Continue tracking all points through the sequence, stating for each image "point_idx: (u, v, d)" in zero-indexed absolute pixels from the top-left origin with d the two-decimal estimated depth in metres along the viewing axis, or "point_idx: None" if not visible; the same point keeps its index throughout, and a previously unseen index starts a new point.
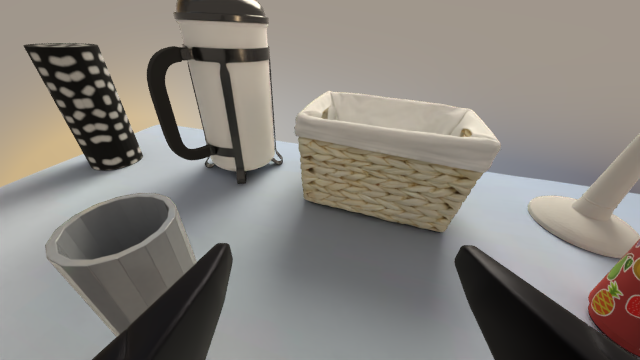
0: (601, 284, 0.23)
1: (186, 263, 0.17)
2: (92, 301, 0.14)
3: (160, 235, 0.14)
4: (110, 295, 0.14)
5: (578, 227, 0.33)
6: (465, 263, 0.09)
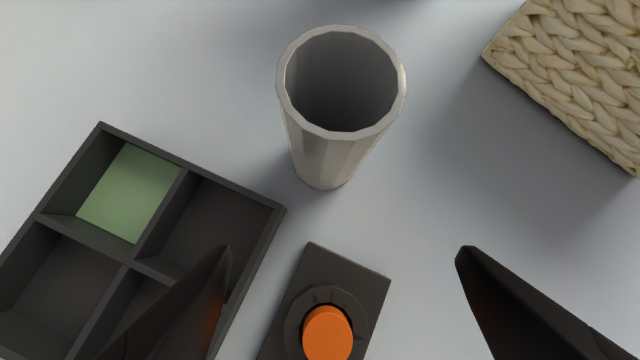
0: None
1: None
2: (303, 152, 0.14)
3: None
4: (324, 157, 0.13)
5: None
6: (465, 263, 0.09)
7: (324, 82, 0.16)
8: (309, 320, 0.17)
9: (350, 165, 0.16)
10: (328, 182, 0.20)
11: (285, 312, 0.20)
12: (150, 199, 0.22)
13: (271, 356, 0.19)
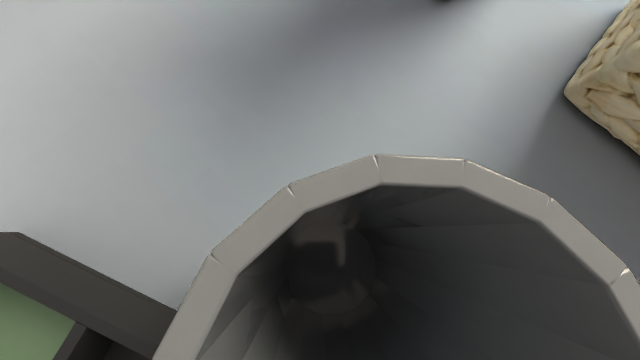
0: None
1: None
2: None
3: None
4: None
5: None
6: None
7: (337, 213, 0.07)
8: None
9: None
10: None
11: None
12: (38, 352, 0.13)
13: None
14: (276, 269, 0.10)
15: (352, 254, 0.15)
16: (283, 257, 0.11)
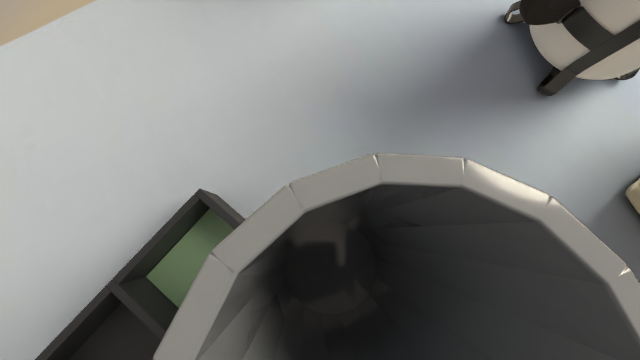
0: None
1: None
2: None
3: None
4: None
5: None
6: None
7: (337, 212, 0.07)
8: None
9: None
10: None
11: None
12: None
13: None
14: (276, 269, 0.10)
15: (352, 254, 0.15)
16: (283, 257, 0.11)
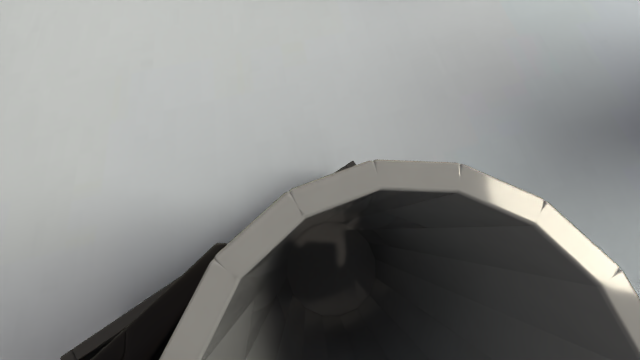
0: None
1: None
2: None
3: None
4: None
5: None
6: None
7: (337, 215, 0.07)
8: None
9: None
10: None
11: None
12: None
13: None
14: (277, 270, 0.10)
15: (352, 255, 0.15)
16: (284, 258, 0.11)
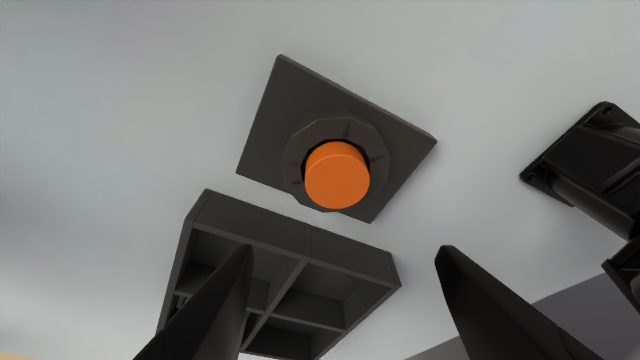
0: None
1: None
2: None
3: None
4: None
5: None
6: (443, 263, 0.09)
7: None
8: None
9: None
10: None
11: None
12: None
13: (360, 209, 0.18)
14: None
15: None
16: None
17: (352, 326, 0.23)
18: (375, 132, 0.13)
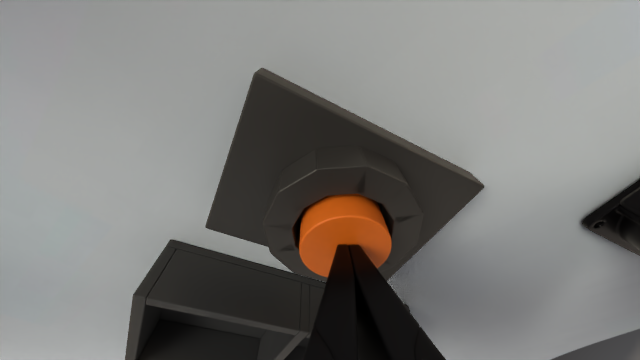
0: None
1: None
2: None
3: None
4: None
5: None
6: None
7: None
8: None
9: None
10: None
11: None
12: None
13: None
14: None
15: None
16: None
17: None
18: (403, 186, 0.09)
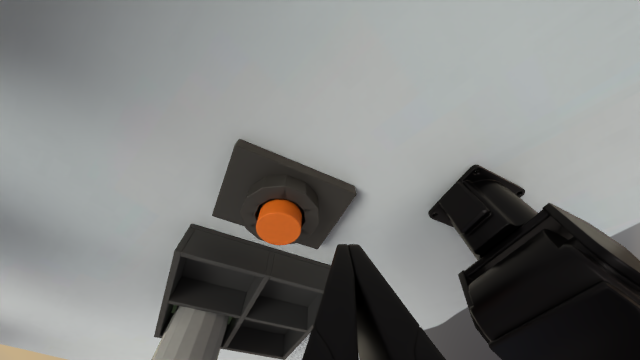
0: None
1: None
2: None
3: None
4: None
5: None
6: None
7: None
8: None
9: None
10: (215, 327, 0.27)
11: None
12: None
13: (308, 239, 0.24)
14: None
15: None
16: None
17: (312, 327, 0.29)
18: (304, 194, 0.19)
